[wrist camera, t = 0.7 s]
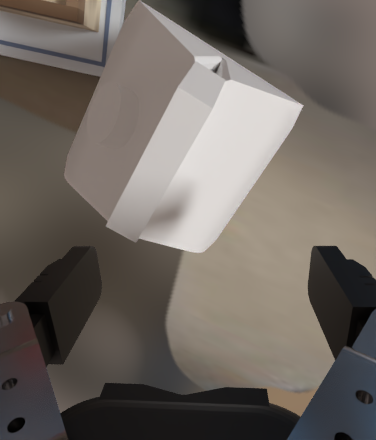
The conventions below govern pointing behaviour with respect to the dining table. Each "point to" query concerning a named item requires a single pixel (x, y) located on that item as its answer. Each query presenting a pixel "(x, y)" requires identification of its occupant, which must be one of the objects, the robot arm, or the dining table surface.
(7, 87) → the dining table surface
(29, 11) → the square wooden tray
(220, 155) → the milk
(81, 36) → the board
